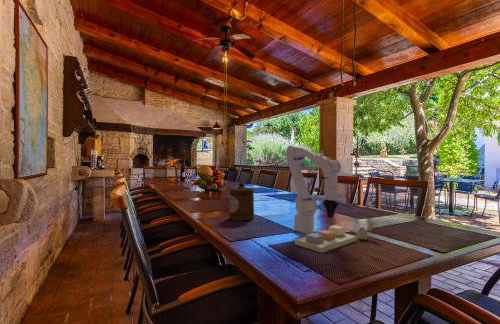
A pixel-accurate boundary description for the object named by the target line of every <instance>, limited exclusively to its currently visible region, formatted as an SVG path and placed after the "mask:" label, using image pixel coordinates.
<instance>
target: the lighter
mask: <svg viewBox="0 0 500 324" xmlns="http://www.w3.org/2000/svg"><path fill="white" fill-rule="evenodd" d="M374 225H375V222H373V221H370V223H369V224H368V226H367V228H365V226H359V227H358V228H356V236H357V239H356V240H368V231H369V232H371V230H372V229H373V227H374Z"/></svg>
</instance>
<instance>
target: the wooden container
mask: <svg viewBox="0 0 500 324" xmlns="http://www.w3.org/2000/svg"><path fill="white" fill-rule="evenodd" d="M254 191H255V190H254V188H253V187H247V186H245V183H244V182H243V181H240V182H239V183H238V186H236V187H230V188H229V191H228V193H229V202H228V203H229V206H228V207H229V209H228V210H229V211H228V212H229V213H228V214H229V216H228V217H229V220H231V219H233V220H232V221H235V220H248V221H251V220H250V219H252V220H254V219H253V218H255V206H254V205H255V203H254V202H255V201H254V199H255V198H254V196H255V195H254Z"/></svg>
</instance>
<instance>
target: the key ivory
mask: <svg viewBox="0 0 500 324" xmlns="http://www.w3.org/2000/svg"><path fill="white" fill-rule="evenodd" d="M328 230H329V231H332V232H335V235H338V236H339V235H343V234H346V227H345V226H341V225H336V224H334V225H330V226H328Z"/></svg>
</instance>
